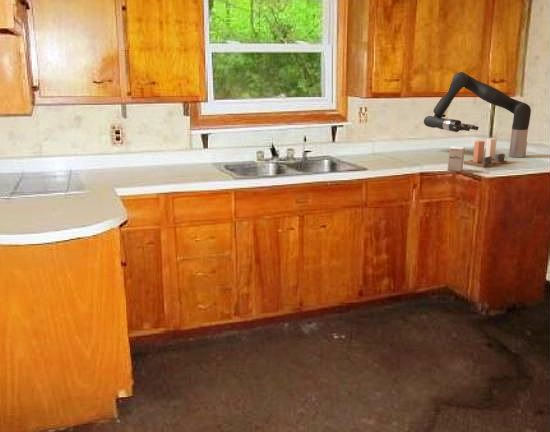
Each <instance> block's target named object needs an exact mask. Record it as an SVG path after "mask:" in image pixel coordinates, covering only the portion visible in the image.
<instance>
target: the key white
mask: <svg viewBox="0 0 550 432" xmlns="http://www.w3.org/2000/svg"><path fill="white" fill-rule="evenodd" d="M497 141H498V140H497V138H493V137H491V138H490V137H489V138H487V139H486V145H485V153H484V154H485V155H484V157H492V159H495V154H496V150H497Z"/></svg>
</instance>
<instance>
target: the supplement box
mask: <svg viewBox="0 0 550 432" xmlns="http://www.w3.org/2000/svg"><path fill="white" fill-rule="evenodd" d="M465 148H466V147H465V146H453V145H451V146H450V147H449V151H448V159H447V160H448V161H447V171H456V172H461V171H462V170H463V169H464V159H465Z"/></svg>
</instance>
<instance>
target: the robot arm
mask: <svg viewBox="0 0 550 432" xmlns="http://www.w3.org/2000/svg"><path fill="white" fill-rule="evenodd" d="M458 72H459V73H458ZM458 72H456V73H457V74H456V73H455V74H454V76H453V77H452V79H451V82H450V84H449V86H450V88H449V87H448V88H449V91H448V93H447V94H446V95H445V97H443V96H442V97H441V98H440V99H439V101H438V102H437V103H436V105H435V107H434V108H433V111H432V112H433V113H434V115H433V116H432V115H428V116H426V117H424V119H423V124H424V125H425V127H427V128H428V127H429V128H432V129H433V128H434V129H435V128H437V129H439V130H445V131H447V132H448V131H449V132H453V133H459V132H460V131H466V132H470V130H475V131H478V130H479V126H478V125H477V126H476V125H475V124H470V123H462V121H461V120H459V119H453V118H443V116H444V115H445V113H446V112H447V110H448V108H449V107H450V105H451V103H452V102H453V100H454V98H455V97H456V95H457V94H459V92H460V91H461V90H462V89H465V88H466V90H468V91H470V92H472V94H474V95H475V96H477V97H478V98H480V99H481V100H482V101H485V102H487V103H489V104H491V105H494V106H497V107H499V108H503V109H505V110H507V111H509V112H510V113H512V114H513V119H512V125H511V133H510V134H511V135H510V141H509V143H510V144H509V150H508V151H509V152H508V157H511V158H525V157H526V155H527V149H528V148H527V147H528V131H529V126H530V122H531V121H530V120H531V116H532V115H531V113H532V109H531V106H530V105H529V104H527V103H526V102H523V101H521V100H517V99H514V98H513V97H510V96H509V95H507V93H505V92H503V91H501V90H499V89H497V88H496V87H494V86H491V85H489V84H487V83H484V82H482V81H480V80H477V79H475V78H474V77H472V76H470V75H469V74H467V73H466V72H464V71H458ZM463 87H465V88H463Z"/></svg>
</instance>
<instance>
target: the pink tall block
mask: <svg viewBox="0 0 550 432" xmlns="http://www.w3.org/2000/svg"><path fill="white" fill-rule="evenodd" d="M485 143H486V141H485V140H477V141H474V145H473V157H472V160H473V162H476V163H478V162H483V157H484V154H485V153H484V152H485Z"/></svg>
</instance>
